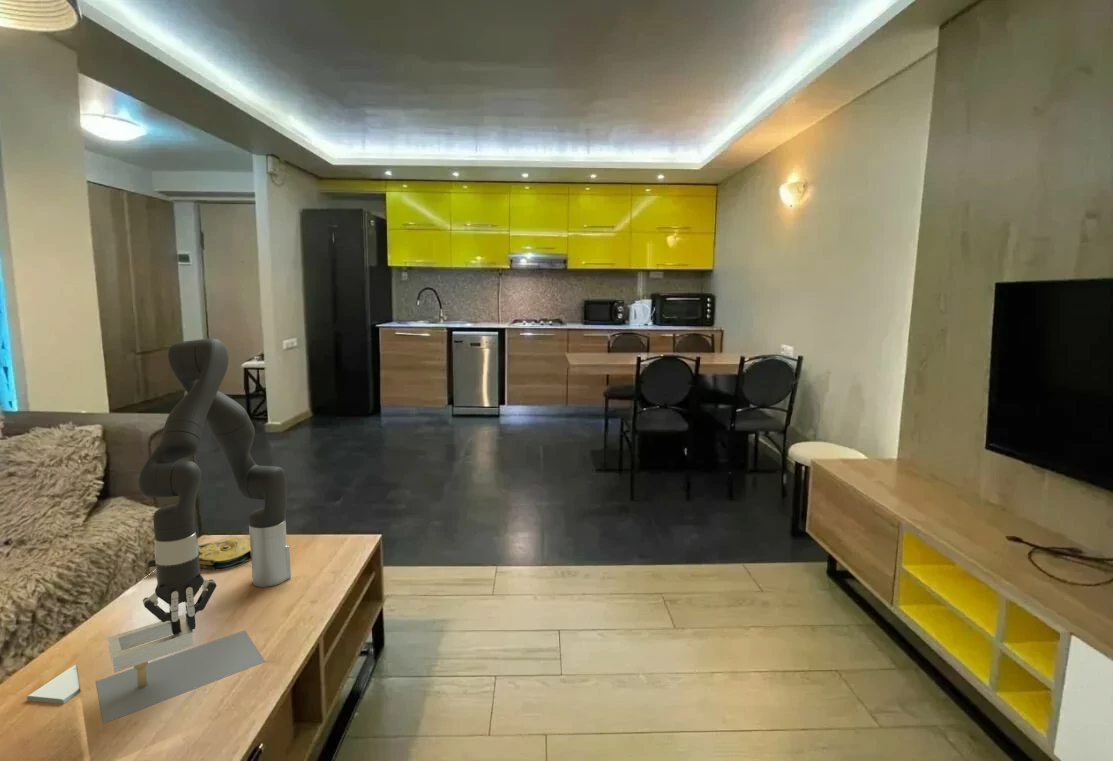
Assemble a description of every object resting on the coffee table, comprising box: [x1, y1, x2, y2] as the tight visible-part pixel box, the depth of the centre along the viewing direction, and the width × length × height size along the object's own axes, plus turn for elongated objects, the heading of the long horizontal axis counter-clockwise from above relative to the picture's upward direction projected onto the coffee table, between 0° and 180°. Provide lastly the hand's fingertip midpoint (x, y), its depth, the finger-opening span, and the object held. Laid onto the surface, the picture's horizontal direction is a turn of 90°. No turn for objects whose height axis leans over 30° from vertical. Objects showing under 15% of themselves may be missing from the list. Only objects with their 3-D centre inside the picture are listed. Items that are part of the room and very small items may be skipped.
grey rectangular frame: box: [107, 614, 194, 673], centre depth 118 cm, size 13×9×3 cm
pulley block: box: [146, 537, 251, 571], centre depth 174 cm, size 14×6×30 cm
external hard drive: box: [26, 663, 82, 705], centre depth 120 cm, size 2×8×12 cm
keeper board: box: [95, 629, 266, 724], centre depth 122 cm, size 28×16×7 cm, turn 132°
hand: (184, 633), depth 122 cm, fingers closed on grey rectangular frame, 1 cm apart
